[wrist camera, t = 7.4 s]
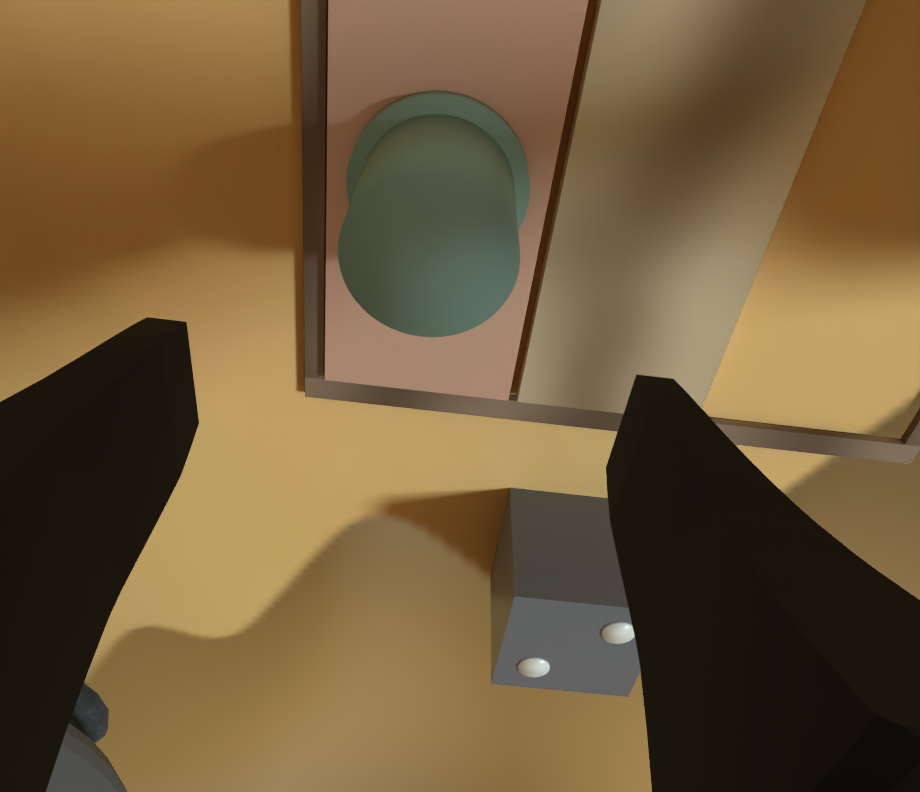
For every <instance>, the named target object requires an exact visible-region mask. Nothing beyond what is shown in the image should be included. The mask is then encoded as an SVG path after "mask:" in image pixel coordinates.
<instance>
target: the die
mask: <svg viewBox="0 0 920 792" xmlns="http://www.w3.org/2000/svg"><path fill="white" fill-rule="evenodd" d="M640 671H641V670H640V663H639V657H638V651H637V645H636V640H635V635H634V631H633V626H632V621H631V617H630V612H629V608H628V603H627V599H626V594H625V590H624V585H623V580H622V576H621V571H620V567H619V562H618V557H617V553H616V548H615V543H614V539H613V534H612V529H611V524H610V515H609V504H608V498H599V497H590V496H581V495H572V494H562V493H553V492H544V491H535V490H526V489H516V488H510V491H509V496H508V500H507V505H506V509H505V514H504V518H503V522H502V527H501V531H500V536H499V540H498V544H497V549H496V553H495V558H494V562H493V567H492V571H491V683H492V684H498V685H499V684H500V685H510V686H520V687H530V688H541V689H552V690H562V691H574V692H583V693H594V694H605V695H616V696H626V697H628V696H629V694H630V692H631V689H632V687H633V685H634V683H635V681H636V679H637V677H638V675H639V672H640Z"/></svg>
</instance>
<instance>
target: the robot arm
mask: <svg viewBox="0 0 920 792" xmlns="http://www.w3.org/2000/svg"><path fill="white" fill-rule="evenodd" d="M198 424H199V420H198V412H197V404H196V396H195V388H194V380H193V372H192V364H191V356H190V348H189V340H188V331H187V323H186V322H182V321H173V320H165V319H156V318H145V319H143V320H141V321H140V322H138V323H136V324H134V325H132V326H130V327H129V328H127V329H125V330H124V331H122V332H120V333H119V334H117V335H115V336H114V337H112V338H110V339H109V340H107V341H105V342H104V343H102V344H100V345H99V346H97V347H96V348H94V349H92V350H91V351H89V352H87V353H86V354H84V355H82V356H81V357H79V358H77V359H76V360H74V361H72V362H71V363H69V364H67V365H66V366H64V367H62V368H61V369H59V370H57V371H56V372H54V373H52V374H50V375H49V376H47V377H45V378H44V379H42V380H40V381H38V382H36V383H35V384H33V385H31V386H29V387H27V388H25V389H23V390H22V391H20V392H18V393H16V394H14V395H12V396H11V397H9V398H7V399H5V400H3V401H1V402H0V792H46V790H47V787H48V784H49V781H50V778H51V775H52V772H53V769H54V766H55V763H56V760H57V757H58V754H59V751H60V748H61V745H62V742H63V739H64V736H65V733H66V730H67V727H68V725H69V722H70V719H71V716H72V714H73V711H74V708H75V705H76V703H77V700H78V697H79V694H80V691H81V689H82V686H83V683H84V680H85V678H86V675H87V672H88V670H89V667H90V664H91V662H92V659H93V657H94V654H95V652H96V649H97V646H98V644H99V641H100V639H101V636H102V634H103V631H104V628H105V626H106V623H107V621H108V618H109V616H110V614H111V611H112V609H113V607H114V605H115V603H116V601H117V598H118V596H119V594H120V592H121V590H122V588H123V586H124V584H125V582H126V580H127V578H128V576H129V574H130V573H131V571H132V569H133V567H134V565H135V563H136V561H137V559H138V557H139V555H140V553H141V552H142V550H143V548H144V546H145V544H146V542H147V540H148V538H149V536H150V534H151V532H152V531H153V529H154V527H155V525H156V523H157V521H158V519H159V517H160V515H161V513H162V511H163V509H164V507H165V505H166V503H167V502H168V500H169V498H170V496H171V494H172V492H173V490H174V488H175V486H176V484H177V482H178V480H179V478H180V476H181V473H182V470H183V468H184V465H185V462H186V459H187V457H188V454H189V451H190V448H191V445H192V442H193V439H194V436H195V433H196V430H197V427H198ZM606 474H607V491H608V504H609V515H610V524H611V529H612V534H613V539H614V543H615V548H616V553H617V557H618V562H619V567H620V571H621V576H622V580H623V585H624V590H625V594H626V599H627V603H628V608H629V612H630V617H631V621H632V626H633V631H634V635H635V640H636V645H637V651H638V657H639V663H640V670H641V679H642V688H643V697H644V706H645V716H646V725H647V735H648V747H649V759H650V771H651V782H652V792H920V600H919V599H917V598H916V597H914V596H913V595H911V594H910V593H908V592H907V591H905V590H904V589H903V588H901V587H900V586H899V585H897V584H896V583H894V582H893V581H891V580H890V579H888V578H887V577H885V576H884V575H883V574H881V573H880V572H878V571H877V570H876V569H874V568H873V567H872V566H870V565H869V564H868V563H866V562H865V561H863V560H862V559H861V558H859V557H858V556H857V555H856V554H854V553H853V552H852V551H850V550H849V549H848V548H847V547H845V546H844V545H843V544H842V543H841V542H839V541H838V540H837V539H836V538H834V537H833V536H832V535H831V534H829V533H828V532H827V531H826V530H824V529H823V528H822V527H821V526H819V525H818V524H817V523H816V522H814V520H812V519H811V518H810V517H809V516H808V515H807V514H805V513H804V512H803V511H802V510H801V509H800V508H799V507H798V506H797V505H795V504H794V503H793V502H792V501H791V500H790V499H789V498H788V497H787V496H786V495H785V494H784V493H783V492H782V491H781V490H779V489H778V488H777V487H776V486H775V485H774V484H773V483H772V482H771V481H770V480H769V479H768V478H767V477H766V476H765V475H764V474H763V473H762V472H761V471H760V470H759V469H758V468H757V467H756V466H755V465H754V464H753V463H752V462H751V461H750V460H749V459H748V458H747V457H746V456H745V455H744V454H743V453H742V452H741V451H740V450H739V449H738V448H737V447H736V445H735V444H734V443H733V442H732V441H731V440H730V439H729V438H728V437H727V436H726V435H725V434H724V433H723V432H722V430H721V429H720V428H719V427H718V426H717V425H716V424H715V423H714V422H713V421H712V419H711V418H710V417H709V416H708V415H707V414H706V413H705V412H704V411H703V410H702V408H701V407H700V406H699V405H698V404H697V403H696V402H695V401H694V400H693V399H692V397H691V396H690V395H689V394H688V393H687V392H686V391H685V390H684V389H683V388H682V387H681V386H680V385H679V384H678V383H677V382H676V381H675V380H674V379H671V378H663V377H654V376H645V375H637V374H636V377H635V380H634V383H633V386H632V389H631V393H630V396H629V399H628V402H627V405H626V408H625V411H624V414H623V417H622V420H621V423H620V426H619V429H618V433H617V436H616V439H615V442H614V445H613V448H612V451H611V454H610V457H609V460H608V463H607V466H606Z"/></svg>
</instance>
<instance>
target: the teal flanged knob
mask: <svg viewBox="0 0 920 792" xmlns="http://www.w3.org/2000/svg"><path fill="white" fill-rule="evenodd" d="M346 183H347V196H348V202H349V209H348V211H347V214H346V217H345V219H344V222H343V225H342V227H341V231H340V235H339V241H338V261H339V266H340V271H341V274H342V277H343V280H344V282H345V284H346V286H347V288H348V290H349V292H350V293H351V295H352V296H353V298H354V299H355V301H356V302H357V303H358V304H359V305H360V306H361V307H362V309H363V310H365V311H366V312H367V313H368V314H369V315H370V316H371V317H373V318H374V319H376V320H377V321H379V322H380V323H382V324H384V325H386V326H387V327H389V328H392V329H394V330H397V331H399V332H402V333H406V334H409V335H414V336H420V337H445V336H451V335H456V334H459V333H463V332H466V331H468V330H470V329H473V328H475V327H477V326H479V325H480V324H482V323H484V322H485V321H487V320H488V319H489V318H491V317H492V316H493V315H494V314H495V313H496V312H497V311H498V310H499V309H500V308H501V307H502V306H503V304H504V303H505V302H506V301H507V299H508V298H509V296H510V294H511V292H512V291H513V288H514V286H515V283H516V281H517V277H518V273H519V267H520V245H519V233H518V231H519V229H520V227H521V226H522V223H523V221H524V218H525V216H526V212H527V208H528V204H529V196H530V179H529V172H528V166H527V160H526V157H525V153H524V150H523V148H522V146H521V143H520V141H519V139H518V137H517V136H516V134H515V133H514V131H513V129H512V128H511V127H510V125H509V124H508V123H507V122H506V121H505V120H504V118H502V117H501V116H500V115H499V114H498V113H497V112H496V111H495V110H493V109H492V108H490V107H489V106H487V105H486V104H485V103H483V102H481V101H479V100H477V99H475V98H473V97H470V96H467V95H464V94H461V93H456V92H451V91H440V90H433V91H422V92H418V93H413V94H410V95H407V96H404V97H402V98H399V99H397V100H396V101H394V102H392V103H390V104H388V105H387V106H386V107H384V108H383V109H382V110H380V111H379V112H378V113H377V114H376V115H375V116H374V117H373V118H372V119H371V120H370V121H369V123H368V124H367V125H366V127H365V128H364V129H363V131H362V133H361V135H360V136H359V138H358V140H357V142H356V145H355V147H354V150H353V152H352V155H351V157H350V161H349V165H348V170H347V181H346Z"/></svg>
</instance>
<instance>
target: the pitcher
mask: <svg viewBox="0 0 920 792" xmlns="http://www.w3.org/2000/svg"><path fill="white" fill-rule="evenodd" d="M107 729H108V708H107V707H106V705H105V704H104V702H103V701H102V699H101V698H100V697H99V695H98V694H97V693H96V692H95V691H93V690H92V689H91V688H89V687H88V686H87V685H85V684H84V683H83V686H82V689H81V691H80V694H79V697H78V700H77V703H76V705H75V708H74V711H73V714H72V716H71V719H70V722H69V725H68V727H67V730H66V733H65V736H64V739H63V742H62V745H61V748H60V751H59V754H58V757H57V760H56V763H55V766H54V769H53V772H52V775H51V778H50V781H49V784H48V787H47V790H46V792H127V790H126V789H125V786H124V785H123V783H122V781H121V780H120V778H119V777H118V775H117V773H116V771H115V770H114V768H113V766H112V765H111V763H110V761H109V760H108V758H107V757H106V756H105V755H104V753H103V752H102V751H101V750H100V749H99V748H98V747H97V746H96V744H95V743H96V742H97V741H99V740H100V739H101V738H102V737H103V736H105V734H106V732H107Z"/></svg>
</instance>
